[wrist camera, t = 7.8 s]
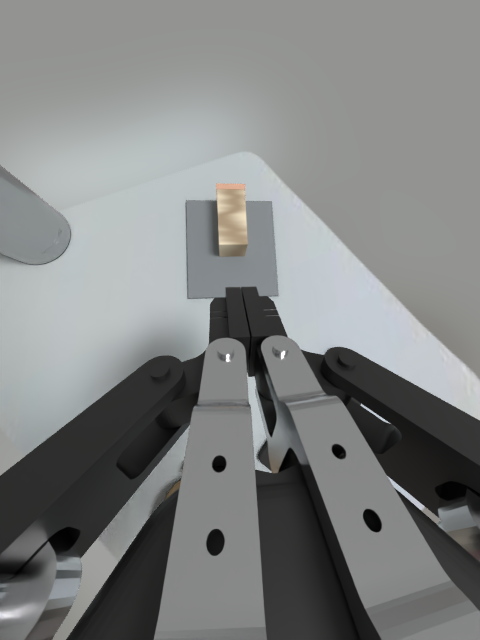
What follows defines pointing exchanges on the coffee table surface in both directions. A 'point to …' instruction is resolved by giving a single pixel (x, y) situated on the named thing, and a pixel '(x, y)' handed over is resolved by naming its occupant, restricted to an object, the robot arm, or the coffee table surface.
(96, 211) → the coffee table surface
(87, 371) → the coffee table surface
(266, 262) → the rubber mat
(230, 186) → the birch block
